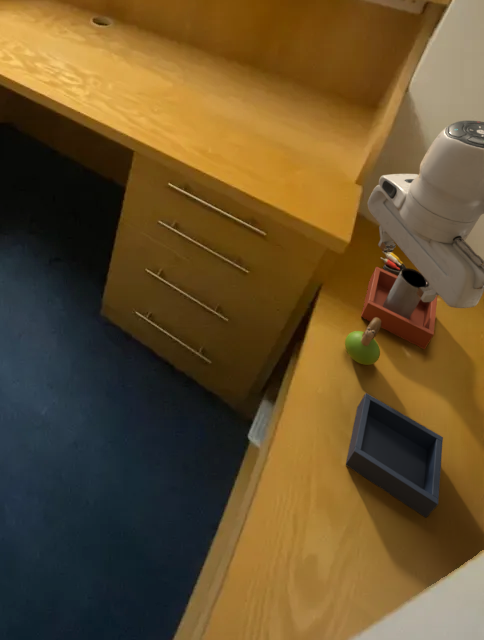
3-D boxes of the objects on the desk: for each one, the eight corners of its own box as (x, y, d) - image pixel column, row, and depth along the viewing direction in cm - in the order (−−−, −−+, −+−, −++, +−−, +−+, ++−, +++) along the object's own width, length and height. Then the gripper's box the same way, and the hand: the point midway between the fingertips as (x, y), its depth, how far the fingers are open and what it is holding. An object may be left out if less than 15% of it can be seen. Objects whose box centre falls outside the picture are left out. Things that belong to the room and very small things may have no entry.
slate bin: (357, 406, 87) (365, 392, 85) (431, 451, 81) (443, 437, 79) (345, 465, 80) (354, 451, 78) (426, 518, 74) (438, 504, 72)
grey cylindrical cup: (409, 308, 102) (428, 275, 97) (409, 326, 99) (429, 292, 94) (383, 297, 104) (401, 264, 99) (382, 314, 101) (400, 280, 96)
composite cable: (433, 282, 108) (437, 274, 107) (427, 295, 105) (431, 288, 104) (381, 253, 114) (385, 246, 113) (374, 266, 112) (378, 258, 110)
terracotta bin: (369, 280, 108) (376, 266, 106) (429, 308, 103) (437, 294, 100) (360, 317, 101) (368, 302, 99) (424, 349, 96) (433, 335, 93)
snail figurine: (334, 358, 94) (354, 319, 88) (347, 336, 98) (367, 297, 92) (366, 381, 91) (388, 342, 85) (378, 357, 94) (401, 317, 88)
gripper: (515, 270, 69) (471, 331, 76) (409, 167, 86) (382, 224, 93) (471, 273, 68) (431, 333, 75) (374, 169, 86) (349, 225, 93)
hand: (403, 272), depth 84 cm, fingers open, 8 cm apart
